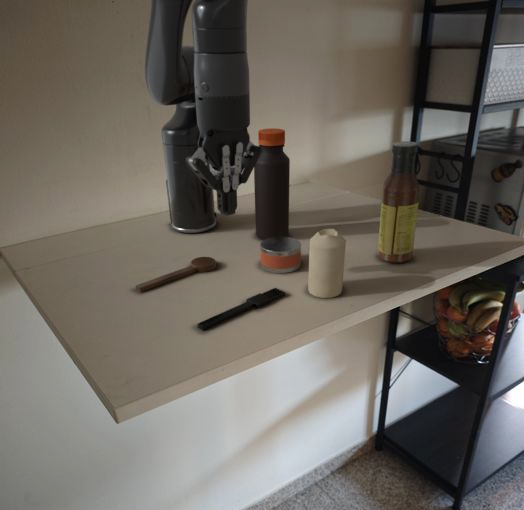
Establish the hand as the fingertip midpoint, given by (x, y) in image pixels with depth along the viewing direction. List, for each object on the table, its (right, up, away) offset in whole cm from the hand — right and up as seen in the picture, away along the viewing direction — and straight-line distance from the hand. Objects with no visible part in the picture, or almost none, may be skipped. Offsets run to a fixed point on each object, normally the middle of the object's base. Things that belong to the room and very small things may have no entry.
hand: (227, 213), depth 78 cm
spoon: (-9, -9, +9) cm, 15 cm away
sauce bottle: (+30, -5, +14) cm, 33 cm away
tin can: (+9, -6, +12) cm, 16 cm away
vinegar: (+7, +2, +24) cm, 25 cm away
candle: (+16, -12, +3) cm, 20 cm away
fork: (+3, -15, -1) cm, 15 cm away
